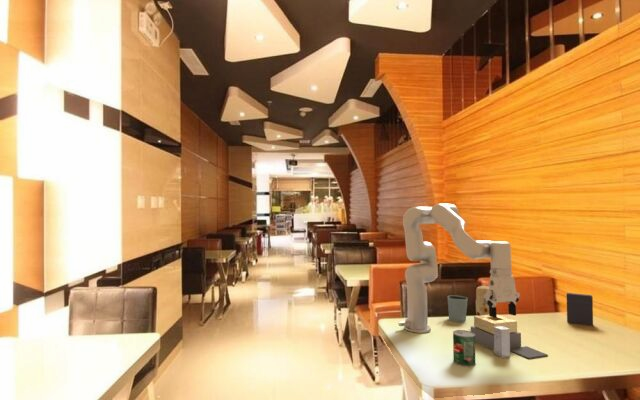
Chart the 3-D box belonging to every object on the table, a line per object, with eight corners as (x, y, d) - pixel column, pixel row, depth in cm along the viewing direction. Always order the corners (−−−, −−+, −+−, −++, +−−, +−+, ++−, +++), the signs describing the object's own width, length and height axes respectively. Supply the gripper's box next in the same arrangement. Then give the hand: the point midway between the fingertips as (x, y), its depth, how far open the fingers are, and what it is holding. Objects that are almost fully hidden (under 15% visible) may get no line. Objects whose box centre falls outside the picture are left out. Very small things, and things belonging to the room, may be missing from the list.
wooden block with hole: (494, 334, 155) (494, 323, 155) (474, 326, 167) (474, 316, 167) (520, 331, 159) (519, 320, 160) (498, 323, 171) (498, 313, 171)
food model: (491, 324, 192) (491, 284, 192) (499, 328, 185) (498, 287, 186) (473, 324, 191) (473, 285, 192) (479, 328, 184) (479, 287, 185)
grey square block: (494, 351, 154) (494, 336, 154) (470, 340, 167) (470, 326, 167) (521, 347, 158) (520, 333, 158) (496, 337, 171) (495, 323, 172)
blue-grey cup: (443, 318, 202) (443, 296, 203) (458, 316, 206) (457, 294, 207) (457, 323, 193) (457, 299, 193) (472, 321, 197) (471, 298, 197)
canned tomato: (480, 363, 141) (479, 334, 141) (466, 368, 136) (466, 337, 137) (461, 357, 147) (461, 328, 148) (448, 361, 143) (448, 332, 143)
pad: (528, 359, 145) (528, 357, 145) (508, 350, 155) (508, 348, 155) (547, 356, 148) (547, 354, 148) (526, 347, 158) (526, 346, 158)
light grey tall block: (502, 358, 146) (501, 329, 147) (494, 354, 150) (493, 326, 150) (510, 357, 147) (509, 328, 148) (502, 353, 151) (501, 325, 152)
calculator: (592, 324, 192) (591, 294, 193) (593, 326, 188) (592, 296, 189) (567, 320, 198) (566, 292, 199) (567, 322, 194) (566, 293, 195)
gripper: (490, 274, 143) (492, 320, 143) (525, 272, 149) (527, 316, 148) (476, 272, 151) (478, 315, 150) (510, 270, 156) (512, 311, 155)
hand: (502, 315), depth 149 cm, fingers open, 9 cm apart
